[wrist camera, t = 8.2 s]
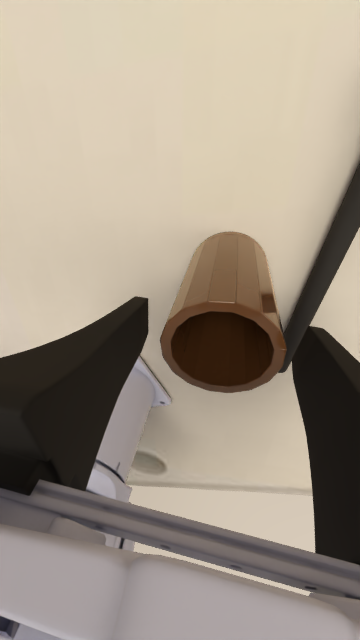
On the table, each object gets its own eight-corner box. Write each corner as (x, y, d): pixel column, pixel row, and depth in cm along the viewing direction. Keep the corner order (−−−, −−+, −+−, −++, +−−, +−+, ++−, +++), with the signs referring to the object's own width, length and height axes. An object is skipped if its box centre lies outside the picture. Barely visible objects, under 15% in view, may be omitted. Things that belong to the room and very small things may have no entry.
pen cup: (207, 308, 18) (190, 399, 12) (178, 249, 16) (138, 322, 10) (276, 288, 16) (298, 383, 10) (253, 217, 14) (265, 282, 8)
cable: (285, 366, 20) (288, 377, 19) (267, 362, 20) (268, 373, 19) (460, 16, 9) (488, 1, 8) (415, 14, 9) (436, 0, 8)
